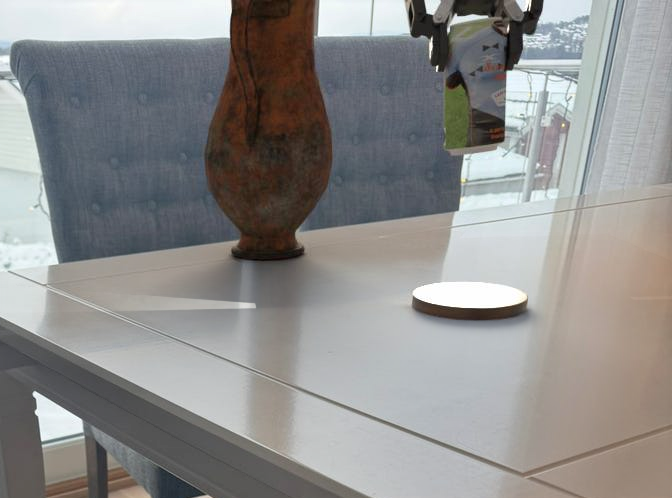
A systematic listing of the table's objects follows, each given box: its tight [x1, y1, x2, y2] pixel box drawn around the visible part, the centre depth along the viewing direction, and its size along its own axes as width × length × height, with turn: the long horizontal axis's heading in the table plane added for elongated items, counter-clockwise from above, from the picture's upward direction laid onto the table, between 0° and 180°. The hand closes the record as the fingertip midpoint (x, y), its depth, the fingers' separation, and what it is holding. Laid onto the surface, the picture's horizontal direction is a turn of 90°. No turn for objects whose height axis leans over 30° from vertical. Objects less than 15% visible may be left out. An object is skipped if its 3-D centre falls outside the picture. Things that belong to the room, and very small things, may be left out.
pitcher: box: [203, 0, 334, 261], centre depth 117 cm, size 17×21×30 cm
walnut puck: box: [411, 281, 529, 321], centre depth 92 cm, size 11×11×3 cm
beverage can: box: [443, 17, 508, 157], centre depth 93 cm, size 6×7×12 cm
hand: (476, 64), depth 91 cm, fingers closed on beverage can, 6 cm apart
